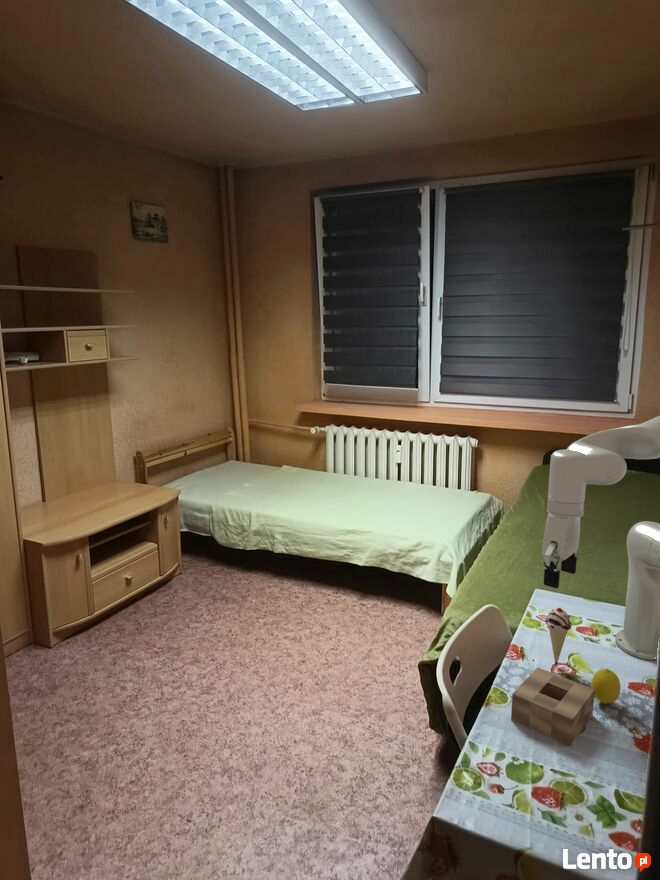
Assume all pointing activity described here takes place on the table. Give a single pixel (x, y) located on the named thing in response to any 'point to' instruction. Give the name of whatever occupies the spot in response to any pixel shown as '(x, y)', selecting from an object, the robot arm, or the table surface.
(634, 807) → the table surface
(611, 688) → the lemon
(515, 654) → the table surface
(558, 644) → the ice cream cone
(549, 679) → the cone stand
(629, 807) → the table surface
